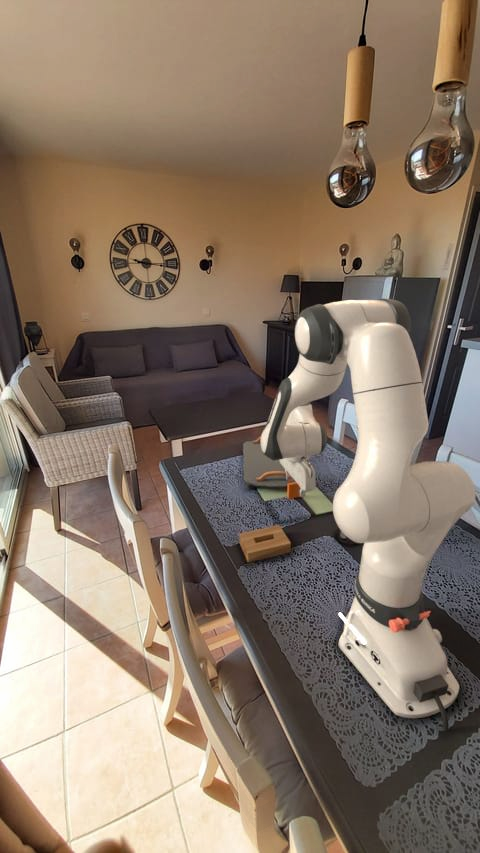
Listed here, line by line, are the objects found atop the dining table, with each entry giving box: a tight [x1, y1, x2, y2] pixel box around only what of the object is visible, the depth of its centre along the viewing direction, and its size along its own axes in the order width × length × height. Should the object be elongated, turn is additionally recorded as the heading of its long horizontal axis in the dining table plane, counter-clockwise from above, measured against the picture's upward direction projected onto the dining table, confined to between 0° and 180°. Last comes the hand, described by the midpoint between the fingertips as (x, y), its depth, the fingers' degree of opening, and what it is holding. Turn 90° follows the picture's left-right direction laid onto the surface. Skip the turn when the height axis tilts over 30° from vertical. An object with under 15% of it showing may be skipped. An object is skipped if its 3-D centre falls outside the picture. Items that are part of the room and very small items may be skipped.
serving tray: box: [242, 436, 296, 490], centre depth 139 cm, size 39×23×6 cm, turn 0°
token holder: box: [238, 524, 292, 563], centre depth 98 cm, size 8×12×4 cm, turn 107°
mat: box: [256, 486, 333, 516], centre depth 120 cm, size 20×20×1 cm
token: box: [286, 482, 301, 500], centre depth 119 cm, size 1×5×6 cm, turn 107°
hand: (295, 488), depth 118 cm, fingers open, 8 cm apart
